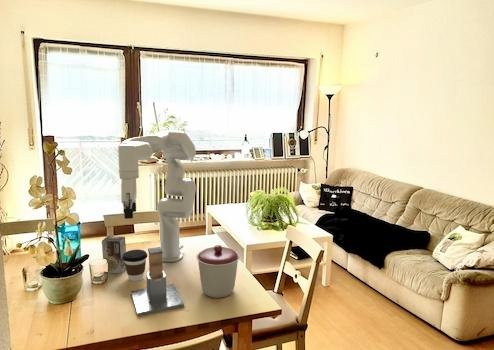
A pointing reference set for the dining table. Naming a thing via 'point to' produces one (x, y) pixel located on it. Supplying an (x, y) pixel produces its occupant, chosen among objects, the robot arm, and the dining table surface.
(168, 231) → the robot arm
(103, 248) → the coffee box
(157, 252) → the post
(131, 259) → the coffee cup
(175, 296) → the stand
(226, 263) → the canister
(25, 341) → the dining table surface
